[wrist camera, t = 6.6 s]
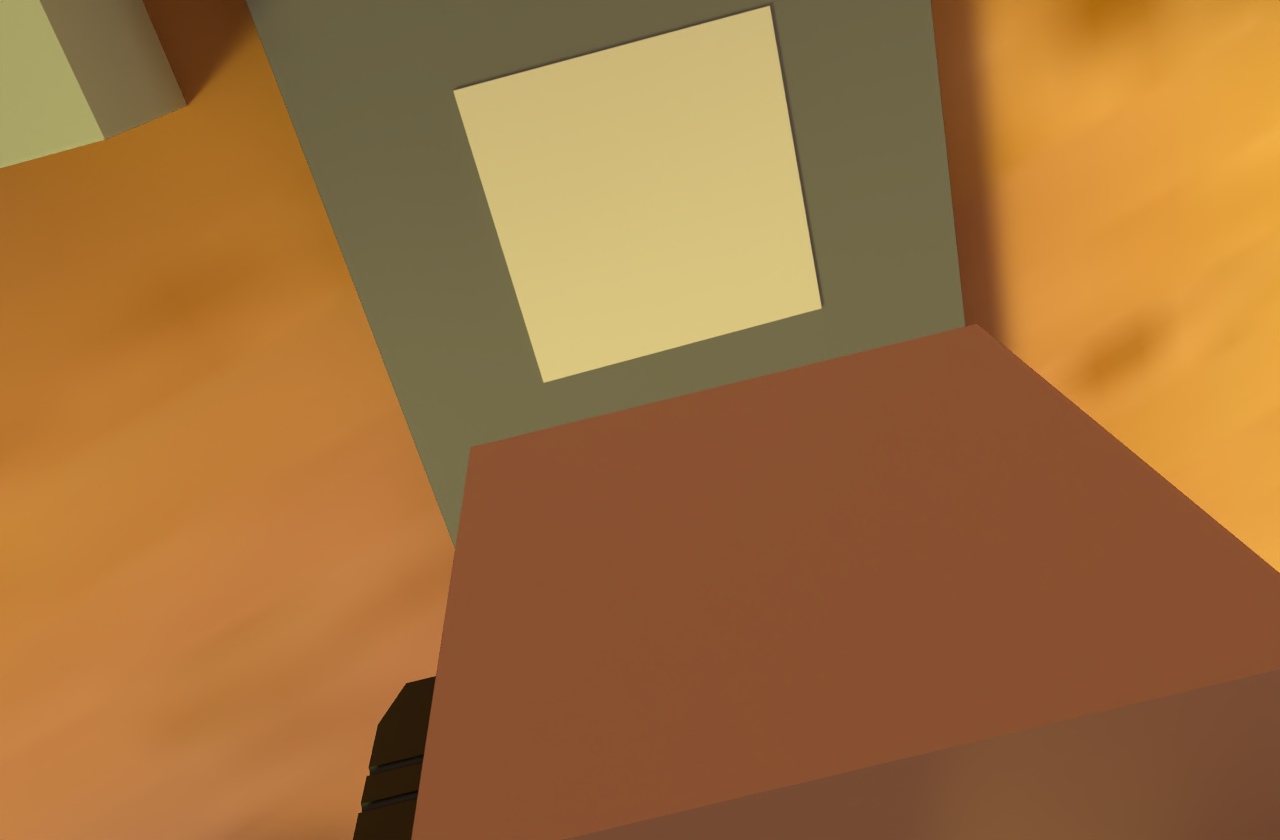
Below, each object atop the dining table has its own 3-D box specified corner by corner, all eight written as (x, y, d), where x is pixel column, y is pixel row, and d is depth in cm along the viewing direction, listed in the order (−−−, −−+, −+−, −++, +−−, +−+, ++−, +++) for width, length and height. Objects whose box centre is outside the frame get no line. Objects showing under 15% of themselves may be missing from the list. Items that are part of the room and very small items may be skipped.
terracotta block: (594, 816, 12) (626, 1354, 7) (469, 448, 10) (405, 878, 5) (1010, 717, 12) (1307, 1196, 7) (976, 323, 10) (1370, 646, 5)
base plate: (487, 594, 29) (485, 630, 27) (189, -201, 20) (161, -216, 19) (959, 467, 29) (984, 496, 27) (860, -382, 20) (888, -411, 19)
